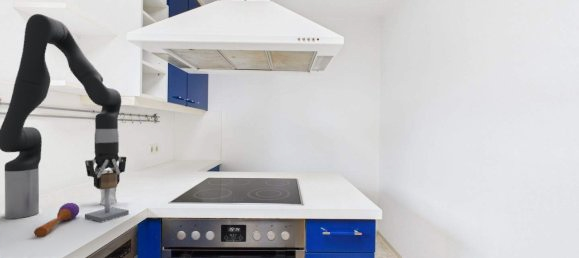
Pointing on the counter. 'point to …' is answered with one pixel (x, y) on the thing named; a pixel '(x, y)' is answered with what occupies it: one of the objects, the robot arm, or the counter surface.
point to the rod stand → (106, 211)
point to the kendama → (58, 218)
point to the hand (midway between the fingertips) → (107, 185)
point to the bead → (108, 180)
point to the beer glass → (112, 191)
